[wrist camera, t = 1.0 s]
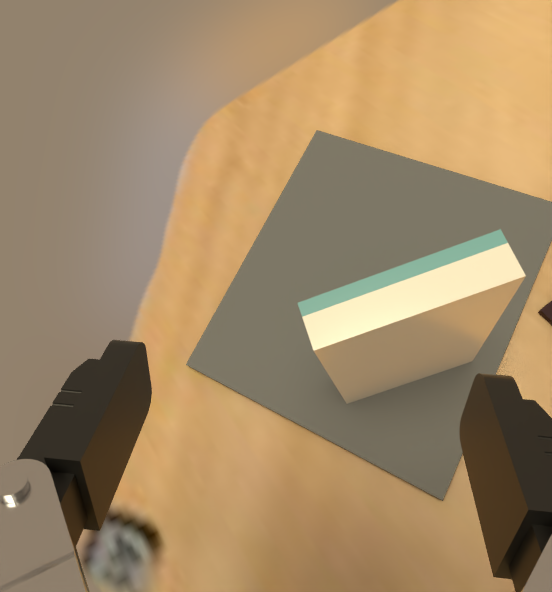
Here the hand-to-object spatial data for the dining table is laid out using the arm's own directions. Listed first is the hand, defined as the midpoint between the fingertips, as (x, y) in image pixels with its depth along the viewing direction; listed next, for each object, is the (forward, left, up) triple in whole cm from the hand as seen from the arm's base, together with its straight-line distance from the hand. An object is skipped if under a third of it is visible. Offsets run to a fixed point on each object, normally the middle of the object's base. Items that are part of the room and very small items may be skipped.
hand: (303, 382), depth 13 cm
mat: (-9, -3, -21) cm, 23 cm away
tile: (-5, +1, -20) cm, 21 cm away
